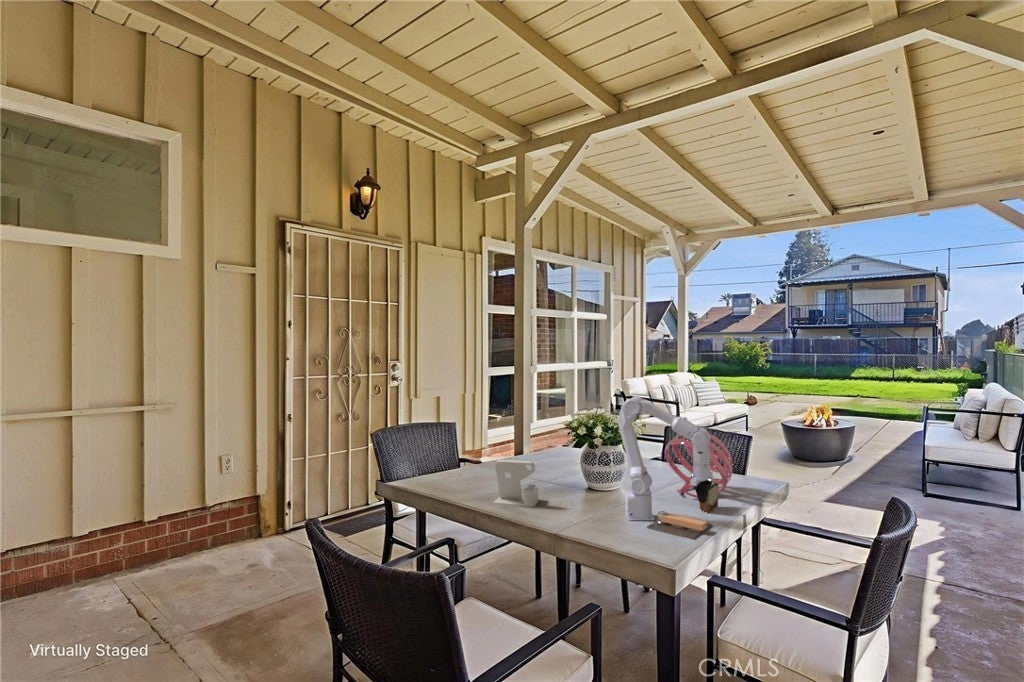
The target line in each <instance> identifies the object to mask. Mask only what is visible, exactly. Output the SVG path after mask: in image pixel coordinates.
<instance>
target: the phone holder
mask: <svg viewBox="0 0 1024 682" xmlns="http://www.w3.org/2000/svg"><path fill="white" fill-rule="evenodd" d="M526 466H530V467H531V469H529V468H528V467H526ZM495 471H496V472H495V473H496V480H497V485H498V486H497V487H498V493H499V496H498V498H497V499H496V500H494V501H493V504H494V505H497V504H502V505H501V506H510V505H513V507H522V508H523V507H524V508H525V507H526V508H534V507H535V506H536V505H537V504H538V503H539V501H540V499H539V486H538V485H537V484H528V485H527V486H526V487H525V488H524V489H523V491H522V485H521V483H522V482H521V481H522V480H524V479H526V478H527V477H529V476H531V475H532V474H533V473H535V471H536V464H535V463H534V462H533V461H530V460H517V459H498V460H496V462H495ZM506 473H508V474H510V477H506V475H505V474H506Z"/></svg>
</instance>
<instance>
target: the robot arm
mask: <svg viewBox="0 0 1024 682" xmlns="http://www.w3.org/2000/svg"><path fill="white" fill-rule="evenodd" d="M638 415H641V416H644V415H645V416H646V415H651V416H653V417H654V418H656V419H658V420H660V421H661V422H664V423H666V424H667V425H670V427H671V429H672V430H671V431H673V432H675V433H676V434H677V435H678V434H680V435H682V438H683V437H685V438H687V439H688V440H689V441H690V440H691V442H692V443H693V458H692V467H693V476H692V475H691V476H692V479H691V480H690V481H691V485H692V486H693V487H692V488H694V491H695V493H696V495H697V497H698V498H697V500H698V502H701V503H706V501H707V496H708V492H709V489H710V487H711V485H712V482H711V481H707V480H713V479H714V478H715V477H714V475H713V472H714V471H711V470H710V464H711V462H710V446H709V441H711V440H710V439H711V438H710V432H709V431H708V430H707V429H706V427H702V426H701V427H700V425H699V424H694V423H693V422H691V421H690V420H688V417H686V416H674V415H672V414H670V413H669V412H667V411H666V410H664V409H662V408H661V407H659V406H658V405H656V404H654V403H653V402H651V401H649V400H647V399H645V398H643V397H641V396H637V395H636V396H633V397H631V398H628V399H626V400H625V401H624V402H623V404H622V405H621V406H620V411H619V415H618V419H617V425H618V429H619V432H620V437H621V440H622V444H623V447H624V451H625V454H626V458H627V461H628V465H629V478H630V483H629V487H630V490H631V492H626V493H625V496H624V500H625V504H624V505H625V507H624V508H625V509H624V510H625V511H624V512H625V516H626V518H627V520H628V521H656V518H655V517H654V515H653V506H652V505H653V503H652V502H653V501H652V500H653V499H652V498H653V497H652V496H653V495H652V490H651V489H650V488H651V486H652V484H653V477H652V476H651V475H650V474H649V472H648V470H647V467H646V466H645V465H644V462H643V459H642V454H641V450H640V447H639V443H638V439H637V437H636V436H637V435H636V434H635V433H636V432H635V427H634V426H633V423H634V421H635V420H636V418H637V417H638Z"/></svg>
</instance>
